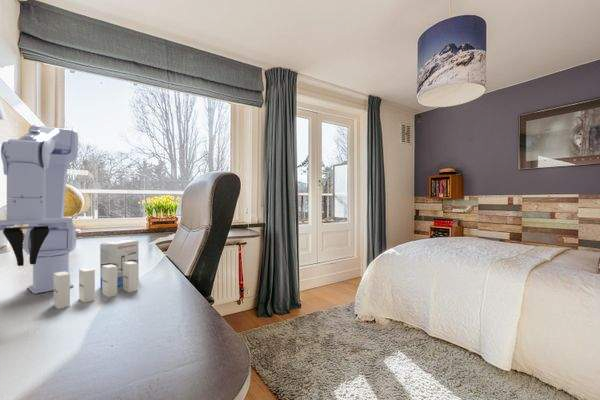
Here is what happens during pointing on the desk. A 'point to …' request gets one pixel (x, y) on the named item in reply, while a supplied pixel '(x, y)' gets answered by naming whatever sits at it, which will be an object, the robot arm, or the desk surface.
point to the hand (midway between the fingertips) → (26, 264)
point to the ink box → (118, 256)
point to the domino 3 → (109, 280)
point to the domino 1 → (61, 289)
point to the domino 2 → (86, 284)
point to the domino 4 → (130, 276)
